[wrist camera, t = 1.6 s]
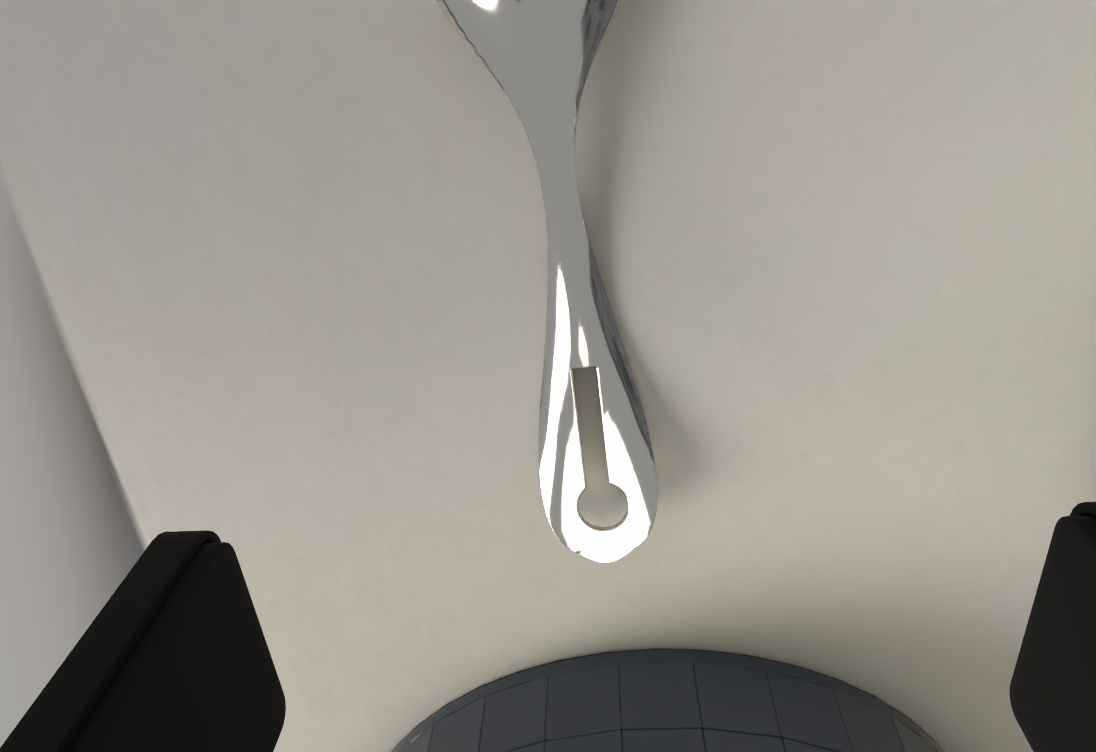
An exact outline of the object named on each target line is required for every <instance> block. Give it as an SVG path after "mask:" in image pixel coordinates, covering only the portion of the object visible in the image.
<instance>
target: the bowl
mask: <svg viewBox="0 0 1096 752" xmlns="http://www.w3.org/2000/svg"><path fill="white" fill-rule="evenodd" d="M392 752H943V750H942V749H941V748H940V747H939V746H938V744H937V743H936V742H935V741H934V740H933V739H932V738H931V737H930V736H928V735H927V734H926V733H925V732H924V731H923V730H921V729H920V728H919V727H918V726H917V725H916V724H914V723H913V722H912V721H911V720H910V719H909V718H907V717H906V716H904V715H903V714H901V713H900V712H898V711H896V710H895V709H893V708H892V707H890V706H888V705H887V704H885V703H884V702H882V701H880V700H879V699H877V698H876V697H874V696H872V695H869V694H867V693H865V692H863V691H861V690H859V689H856V688H854V687H852V686H850V685H848V684H846V683H843V682H841V681H839V680H837V679H834V678H831V677H828V676H825V675H821V674H818V673H815V672H812V671H809V670H806V669H803V668H800V667H797V666H793V665H789V664H784V663H779V662H775V661H770V660H766V659H761V658H756V657H752V656H745V655H736V654H727V653H719V652H710V651H695V650H642V651H628V652H615V653H604V654H598V655H592V656H586V657H580V658H574V659H568V660H562V661H558V662H554V663H551V664H547V665H543V666H540V667H536V668H532V669H529V670H525V671H521V672H518V673H515V674H513V675H510V676H508V677H505V678H503V679H500V680H497V681H495V682H492V683H490V684H487V685H485V686H482V687H479V688H478V689H476V690H474V691H472V692H470V693H468V694H466V695H464V696H463V697H461V698H459V699H457V700H455V701H453V702H451V703H449V704H448V705H446V706H444V707H443V708H441V709H440V710H439V711H437V712H436V713H434V714H433V715H432V716H430V717H429V718H428V719H426V720H425V721H423V722H422V723H421V724H419V725H418V726H417V727H416V728H414V729H413V730H412V731H411V732H410V733H409V734H408V735H407V736H406V737H405V738H404V739H403V740H402V741H401V742H400V743H399V744H398V745H397V746H396V747H395V748H394V749H393V751H392Z"/></svg>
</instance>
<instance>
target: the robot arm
mask: <svg viewBox="0 0 1096 752" xmlns="http://www.w3.org/2000/svg"><path fill="white" fill-rule="evenodd" d="M1010 700H1011V706H1012V709H1013V713H1014V715H1015V718H1016V720H1017V722H1018V724H1019V726H1020V727H1021V729H1022V731H1023V733H1024V735H1025V737H1026V738H1027V740H1028V742H1029V744H1030V746H1031V747H1032V749H1033V751H1034V752H1096V502H1084V503H1080V504H1078V505H1077V506H1076V507H1075V508H1074V509H1073V510H1072V512H1071V514H1070V516H1066V517H1062V518H1060V519H1059V520H1058V522H1057V524H1056V526H1055V529H1054V532H1053V536H1052V539H1051V543H1050V546H1049V550H1048V554H1047V557H1046V561H1045V564H1044V568H1043V571H1042V575H1041V578H1040V582H1039V585H1038V589H1037V592H1036V596H1035V599H1034V603H1033V606H1032V610H1031V613H1030V617H1029V620H1028V624H1027V628H1026V631H1025V635H1024V638H1023V642H1022V645H1021V649H1020V652H1019V656H1018V659H1017V663H1016V666H1015V670H1014V673H1013V677H1012V680H1011V684H1010ZM285 709H286V705H285V697H284V693H283V690H282V687H281V684H280V681H279V679H278V676H277V673H276V670H275V667H274V664H273V661H272V658H271V655H270V652H269V649H268V646H267V644H266V641H265V638H264V635H263V632H262V629H261V626H260V623H259V620H258V617H257V614H256V612H255V609H254V606H253V603H252V600H251V597H250V594H249V591H248V588H247V585H246V582H245V580H244V577H243V574H242V571H241V568H240V565H239V562H238V559H237V556H236V553H235V551H234V549H233V547H232V546H231V545H230V544H229V543H225V542H223V543H221V541H220V539H219V537H218V535H217V534H215V533H214V532H213V531H179V532H164V533H161V534H159V535H158V536H157V537H156V538H155V539H154V540H153V541H152V542H151V543H150V545H149V546H148V547H147V549H146V550H145V551H144V553H143V554H142V556H141V557H140V558H139V560H138V561H137V562H136V564H135V565H134V566H133V568H132V569H131V571H130V572H129V573H128V575H127V576H126V577H125V579H124V580H123V581H122V583H121V584H120V586H119V587H118V588H117V590H116V591H115V593H114V594H113V595H112V596H111V598H110V599H109V601H108V602H107V603H106V605H105V606H104V607H103V609H102V610H101V611H100V613H99V614H98V616H97V617H96V618H95V620H94V621H93V622H92V624H91V625H90V626H89V628H88V629H87V630H86V632H85V633H84V635H83V636H82V637H81V639H80V640H79V641H78V643H77V644H76V645H75V647H74V648H73V650H72V651H71V652H70V654H69V655H68V656H67V658H66V659H65V661H64V662H63V663H62V665H61V666H60V667H59V669H58V670H57V671H56V673H55V674H54V676H53V677H52V678H51V680H50V681H49V682H48V684H47V685H46V687H45V688H44V689H43V690H42V692H41V693H40V695H39V696H38V697H37V699H36V700H35V701H34V703H33V704H32V706H31V707H30V708H29V710H28V711H27V712H26V714H25V715H24V716H23V718H22V719H21V720H20V722H19V723H18V725H17V726H16V727H15V729H14V730H13V731H12V733H11V734H10V735H9V737H8V738H7V740H6V741H5V742H4V744H3V745H2V746H1V748H0V752H273V751H274V748H275V745H276V743H277V740H278V738H279V735H280V733H281V730H282V727H283V724H284V719H285Z"/></svg>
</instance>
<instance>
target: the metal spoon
mask: <svg viewBox="0 0 1096 752" xmlns="http://www.w3.org/2000/svg"><path fill="white" fill-rule="evenodd" d="M436 2H437V3H438V5H439V7H440V8H441V10H442V11H443V13H444V14H445V15H446V17H447V18H448V20H449V21H450V22H451V24H452V25H453V26H454V28H455V29H456V30H457V32H458V33H459V34H460V36H461V37H462V38H463V39H464V41H465V42H466V43H467V44H468V45H469V47H470V48H471V49H472V50H473V52H474V53H475V54H476V55H477V56H478V58H479V59H480V60H481V61H482V63H483V64H484V65H485V66H486V67H487V69H488V70H489V71H490V73H491V74H492V75H493V76H494V78H495V79H496V80H497V82H498V83H499V85H500V86H501V87H502V89H503V90H504V92H505V93H506V95H507V96H508V98H509V100H510V101H511V103H512V105H513V107H514V108H515V110H516V112H517V114H518V116H519V118H520V120H521V122H522V124H523V127H524V129H525V131H526V133H527V136H528V139H529V141H530V144H531V147H532V150H533V153H534V156H535V159H536V163H537V167H538V171H539V175H540V179H541V184H542V190H543V195H544V202H545V210H546V219H547V233H548V302H547V320H546V335H545V349H544V362H543V375H542V389H541V404H540V425H539V469H540V483H541V491H542V498H543V503H544V507H545V511H546V515H547V518H548V520H549V523H550V525H551V527H552V529H553V531H554V533H555V535H556V536H557V537H558V539H559V540H560V541H561V542H562V543H563V544H564V545H565V546H566V547H568V548H569V549H570V550H572V551H574V552H576V553H579V554H581V555H583V556H585V557H587V558H589V559H591V560H594V561H597V562H602V563H608V562H613V561H616V560H618V559H620V558H622V557H623V556H625V555H626V554H627V553H629V552H630V551H631V550H633V549H634V548H636V547H638V546H639V545H640V544H641V543H642V542H643V541H644V540H645V539H646V537H647V536H648V534H649V533H650V531H651V528H652V526H653V523H654V520H655V516H656V510H657V477H656V469H655V462H654V456H653V450H652V446H651V441H650V436H649V432H648V428H647V424H646V420H645V416H644V413H643V409H642V405H641V402H640V398H639V395H638V392H637V388H636V385H635V382H634V379H633V376H632V372H631V369H630V366H629V363H628V360H627V357H626V354H625V351H624V348H623V345H622V342H621V339H620V336H619V333H618V330H617V327H616V324H615V321H614V318H613V315H612V312H611V309H610V306H609V304H608V301H607V298H606V295H605V292H604V289H603V286H602V282H601V279H600V276H599V273H598V270H597V267H596V264H595V260H594V257H593V254H592V250H591V247H590V243H589V240H588V236H587V232H586V228H585V224H584V220H583V215H582V211H581V206H580V200H579V195H578V188H577V180H576V169H575V133H576V122H577V115H578V109H579V104H580V99H581V94H582V91H583V87H584V84H585V81H586V78H587V74H588V72H589V69H590V66H591V64H592V61H593V59H594V56H595V54H596V52H597V49H598V47H599V44H600V42H601V40H602V38H603V35H604V33H605V31H606V29H607V26H608V24H609V22H610V19H611V17H612V15H613V13H614V10H615V8H616V5H617V3H618V0H436ZM589 367H596V371H597V380H598V389H599V398H600V406H601V415H602V424H603V433H604V442H605V450H606V459H607V468H608V477H609V483H610V484H612V485H615V486H616V487H618V488H619V489H620V490H622V492H623V493H624V494H625V496H626V498H627V502H628V507H627V511H626V514H625V515H624V517H623V518H622V519H621V520H620V521H619V522H618V523H616V524H614V525H612V526H608V527H599V526H595V525H592V524H591V523H589V522H587V521H586V520H585V519H584V518H583V516H582V515H581V513H580V511H579V508H578V501H579V498H580V495H581V494H582V492H583V491H584V490H585V489H586V488H587V484H586V476H585V467H584V459H583V451H582V443H581V435H580V427H579V418H578V410H577V402H576V394H575V386H574V378H573V370H572V369H578V368H589Z"/></svg>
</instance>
